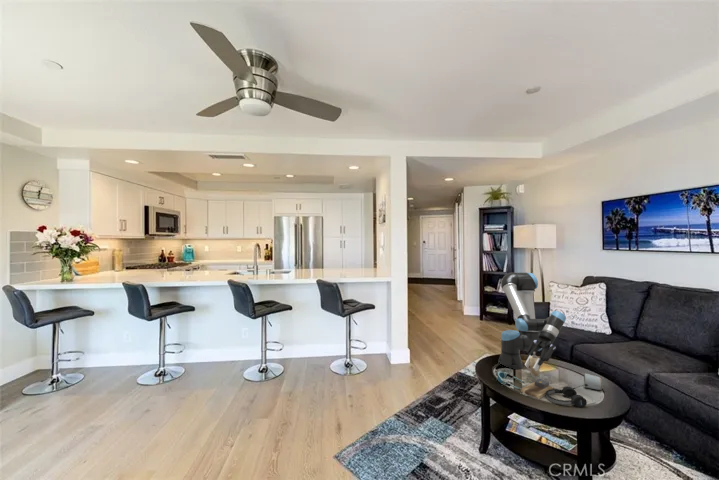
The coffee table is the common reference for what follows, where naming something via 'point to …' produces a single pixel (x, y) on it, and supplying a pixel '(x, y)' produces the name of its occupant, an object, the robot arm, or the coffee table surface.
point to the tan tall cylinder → (532, 363)
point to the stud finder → (541, 383)
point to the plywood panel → (535, 390)
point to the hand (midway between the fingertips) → (530, 367)
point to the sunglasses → (502, 375)
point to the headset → (569, 393)
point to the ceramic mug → (592, 382)
